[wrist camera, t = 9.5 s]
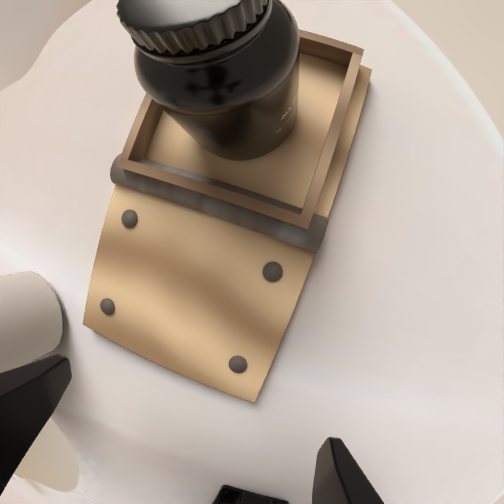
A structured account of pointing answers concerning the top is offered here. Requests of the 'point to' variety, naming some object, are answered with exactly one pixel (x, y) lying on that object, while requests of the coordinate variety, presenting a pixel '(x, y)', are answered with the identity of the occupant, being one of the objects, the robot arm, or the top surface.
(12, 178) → the top surface
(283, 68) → the supplement bottle
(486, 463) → the top surface
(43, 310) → the can
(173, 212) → the hinge jig
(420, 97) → the top surface
